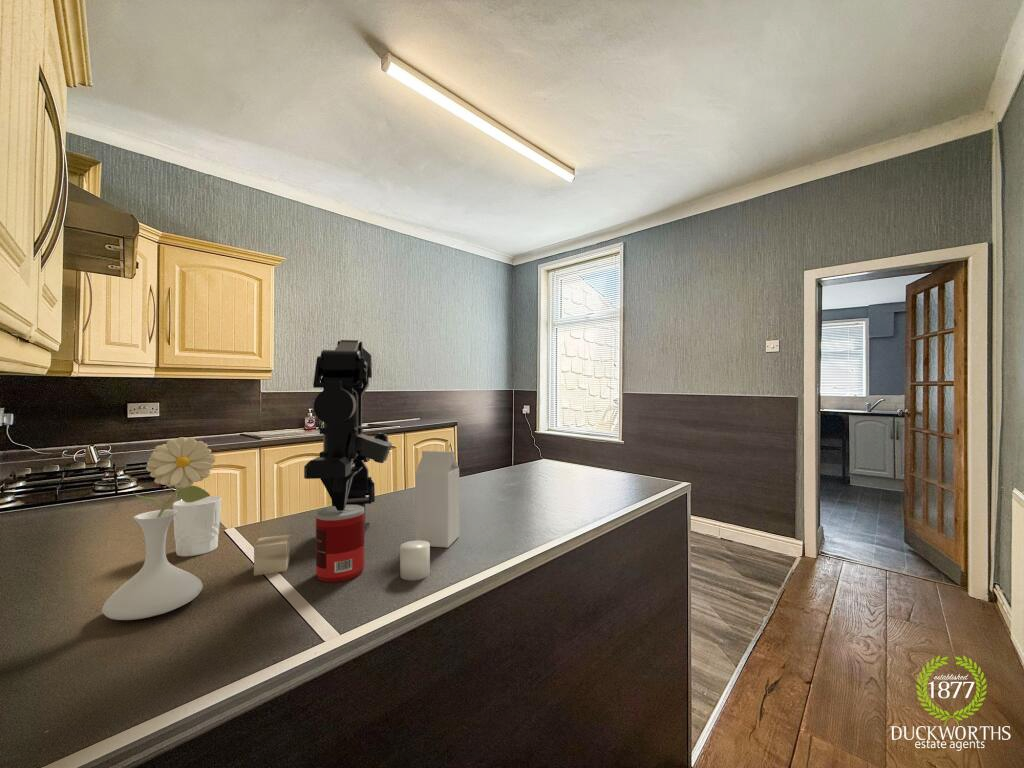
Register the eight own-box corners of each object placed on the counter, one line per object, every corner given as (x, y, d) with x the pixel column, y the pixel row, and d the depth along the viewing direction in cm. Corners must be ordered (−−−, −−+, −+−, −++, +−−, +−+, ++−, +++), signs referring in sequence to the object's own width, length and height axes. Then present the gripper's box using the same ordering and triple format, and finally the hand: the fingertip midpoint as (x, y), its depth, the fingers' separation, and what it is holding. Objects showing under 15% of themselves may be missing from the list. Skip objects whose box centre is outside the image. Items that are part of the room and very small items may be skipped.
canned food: (373, 567, 77) (373, 506, 78) (342, 586, 70) (342, 518, 70) (339, 562, 80) (339, 502, 80) (305, 579, 72) (305, 514, 73)
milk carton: (448, 548, 86) (448, 454, 87) (415, 546, 88) (415, 453, 88) (459, 536, 93) (459, 449, 94) (429, 534, 95) (428, 448, 95)
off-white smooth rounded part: (402, 569, 77) (402, 541, 77) (430, 567, 77) (430, 539, 77) (398, 581, 72) (398, 551, 72) (428, 579, 72) (428, 549, 72)
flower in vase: (84, 637, 56) (86, 444, 56) (122, 598, 66) (124, 436, 67) (205, 615, 61) (206, 439, 61) (222, 583, 71) (223, 432, 72)
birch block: (259, 565, 79) (259, 537, 79) (289, 561, 81) (289, 534, 81) (253, 576, 74) (254, 547, 74) (286, 571, 76) (286, 543, 76)
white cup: (225, 550, 86) (225, 500, 87) (176, 561, 81) (177, 508, 81) (215, 540, 92) (215, 494, 92) (168, 551, 86) (169, 501, 86)
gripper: (377, 423, 67) (377, 524, 67) (396, 417, 86) (396, 496, 85) (302, 425, 66) (302, 527, 66) (338, 418, 85) (338, 498, 84)
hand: (340, 510), depth 75 cm, fingers closed, pressing on canned food
